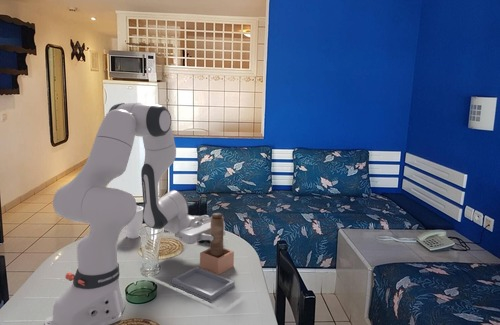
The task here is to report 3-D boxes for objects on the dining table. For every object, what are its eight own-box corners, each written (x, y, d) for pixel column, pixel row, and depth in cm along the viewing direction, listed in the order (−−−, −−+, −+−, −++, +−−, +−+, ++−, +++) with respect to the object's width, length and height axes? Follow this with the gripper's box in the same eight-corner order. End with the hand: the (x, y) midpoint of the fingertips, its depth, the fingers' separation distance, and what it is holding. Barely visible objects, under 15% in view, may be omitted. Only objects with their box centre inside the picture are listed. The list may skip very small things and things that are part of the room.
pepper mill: (217, 267, 145) (217, 217, 141) (207, 263, 147) (207, 214, 144) (225, 262, 149) (226, 214, 145) (215, 259, 151) (216, 211, 148)
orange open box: (218, 277, 143) (218, 259, 141) (200, 270, 148) (200, 252, 146) (233, 268, 150) (233, 251, 148) (215, 262, 155) (215, 245, 154)
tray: (211, 302, 126) (211, 295, 125) (172, 285, 136) (172, 278, 135) (234, 288, 135) (234, 281, 135) (196, 273, 145) (196, 266, 145)
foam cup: (128, 231, 185) (127, 205, 183) (147, 232, 184) (146, 206, 182) (119, 238, 176) (118, 211, 174) (139, 240, 175) (138, 212, 173)
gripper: (171, 226, 145) (199, 235, 137) (209, 213, 161) (235, 221, 153) (172, 242, 146) (199, 252, 138) (208, 228, 162) (235, 236, 154)
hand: (218, 235), depth 145 cm, fingers closed on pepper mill, 5 cm apart
